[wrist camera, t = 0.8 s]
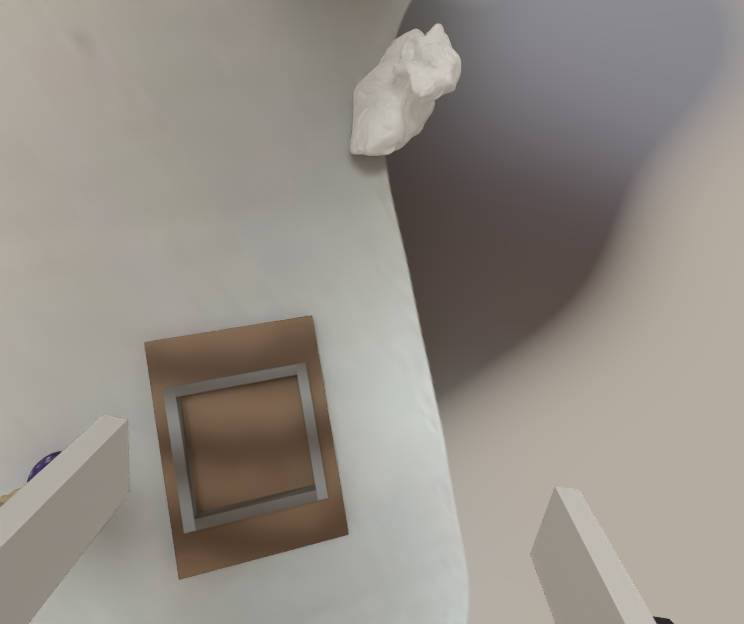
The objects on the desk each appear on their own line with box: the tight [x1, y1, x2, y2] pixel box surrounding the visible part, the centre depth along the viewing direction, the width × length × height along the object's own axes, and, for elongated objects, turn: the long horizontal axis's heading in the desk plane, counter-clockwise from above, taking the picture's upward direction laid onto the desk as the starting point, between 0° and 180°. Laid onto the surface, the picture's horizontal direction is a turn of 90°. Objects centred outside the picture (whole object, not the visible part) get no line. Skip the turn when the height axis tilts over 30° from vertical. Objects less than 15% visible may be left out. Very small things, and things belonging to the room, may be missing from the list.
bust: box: [350, 24, 461, 156], centre depth 37 cm, size 12×8×11 cm
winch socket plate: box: [144, 315, 348, 580], centre depth 35 cm, size 18×13×3 cm
